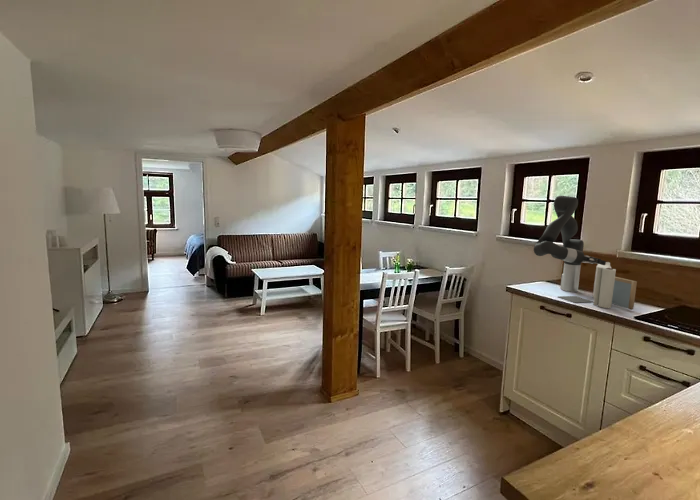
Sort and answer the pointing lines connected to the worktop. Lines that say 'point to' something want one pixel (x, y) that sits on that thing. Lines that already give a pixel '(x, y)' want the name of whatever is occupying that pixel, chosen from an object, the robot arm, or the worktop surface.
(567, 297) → the mat
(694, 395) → the worktop surface
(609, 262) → the milk
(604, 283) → the white carton
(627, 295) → the picture frame
